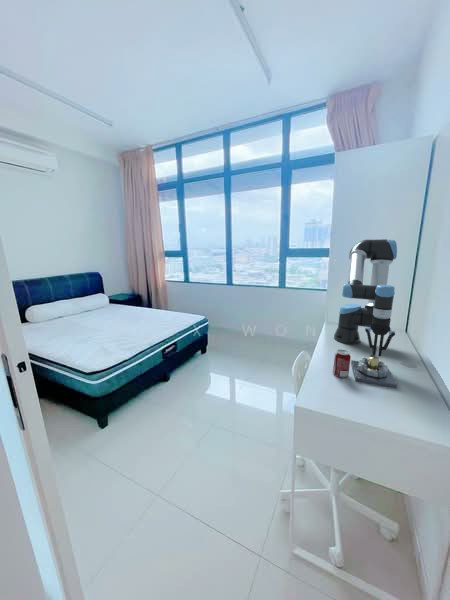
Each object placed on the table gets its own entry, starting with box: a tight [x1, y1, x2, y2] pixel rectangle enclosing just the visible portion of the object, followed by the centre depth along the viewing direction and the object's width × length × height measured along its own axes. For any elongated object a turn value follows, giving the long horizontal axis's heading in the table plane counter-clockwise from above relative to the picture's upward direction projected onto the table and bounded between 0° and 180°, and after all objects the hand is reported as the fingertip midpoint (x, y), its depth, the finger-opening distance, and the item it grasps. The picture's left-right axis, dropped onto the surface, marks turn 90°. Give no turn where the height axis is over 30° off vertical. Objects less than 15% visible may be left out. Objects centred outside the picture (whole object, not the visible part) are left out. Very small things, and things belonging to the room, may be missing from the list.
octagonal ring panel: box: [358, 354, 389, 377], centre depth 120 cm, size 19×12×4 cm, turn 149°
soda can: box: [332, 348, 351, 378], centre depth 117 cm, size 7×7×12 cm
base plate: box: [350, 355, 398, 389], centre depth 117 cm, size 18×16×9 cm
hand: (376, 361), depth 125 cm, fingers closed
